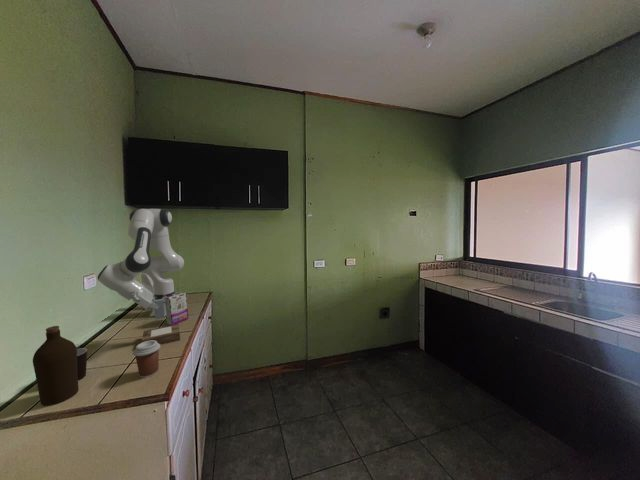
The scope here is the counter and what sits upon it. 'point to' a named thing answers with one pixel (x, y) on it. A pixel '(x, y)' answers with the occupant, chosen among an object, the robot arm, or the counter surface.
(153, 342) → the coffee cup
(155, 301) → the slate block
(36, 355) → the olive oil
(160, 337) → the walnut base
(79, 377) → the coffee mug
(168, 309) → the candy bar box
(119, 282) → the robot arm
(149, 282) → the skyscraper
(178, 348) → the counter surface
